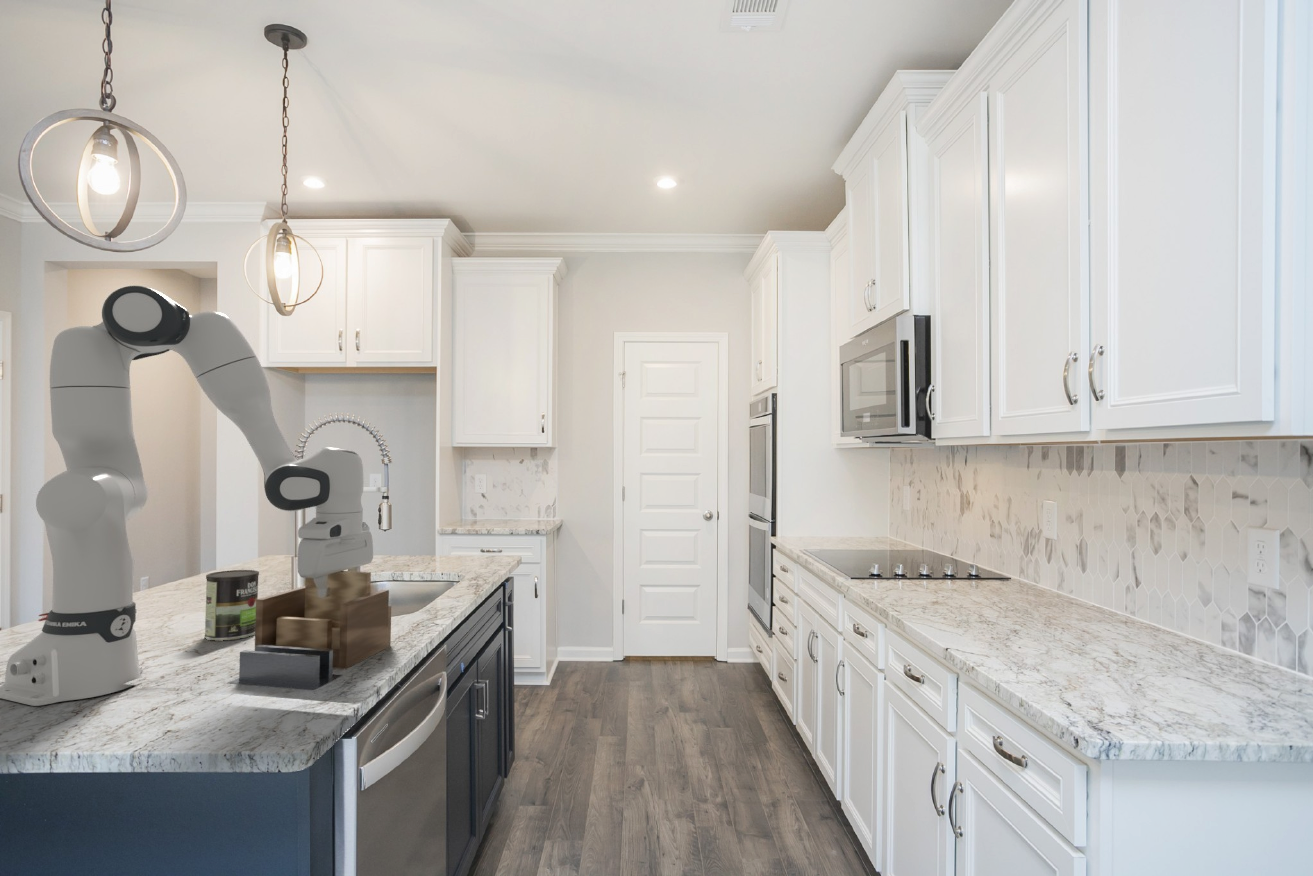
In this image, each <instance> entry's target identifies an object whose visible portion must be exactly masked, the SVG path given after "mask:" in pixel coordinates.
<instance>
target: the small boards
mask: <svg viewBox="0 0 1313 876" xmlns="http://www.w3.org/2000/svg"><path fill="white" fill-rule="evenodd" d="M276 645H282V646H296V647H311V648H326V649H339V648H340V621H334V620H332V619H316V618H299V617H279V618H277V628H276Z"/></svg>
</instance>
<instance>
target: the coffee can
mask: <svg viewBox="0 0 1313 876" xmlns="http://www.w3.org/2000/svg"><path fill="white" fill-rule="evenodd" d="M259 575H260V571H258V570H252V569H237V570H235V569H233V570H222V571H215V572H211V573H207V574H206V576H205V579H206V588H205V589H206V591H205V593H206V594H205V619H204V620H205V623H204V625H205V626H204V639H205V638H206V639H207V640H206V639H205V640H206V641H210V640H215V641H214V642H224V641H223V640H228V641H235V640H236V641H237V640H241V639H240V638H242V639H246V638H249V636H250V637H252V636H255V621H256V599H259V596H258V595H259Z"/></svg>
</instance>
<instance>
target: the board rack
mask: <svg viewBox="0 0 1313 876" xmlns="http://www.w3.org/2000/svg"><path fill="white" fill-rule="evenodd" d="M389 600H390V590H389V589H380V590H377V591H375V592H372V593H371V592H370V594H368V595H366V596H363V597H360V598H357V599H354V600H351V601H348V602H345V603H342V604H341V610H340V648H339V649H328V650H333V668H332V670H346V669H348V668H351V667H352V666H354V665H356V664H358V663H360V662H362V661H365V660H366V659H368V658H371V657H372V656H374V655H376V654H378V653H380V652H382V651H383V650H386V649H388V648H390V647H391V640H392V637H391V635H392V632H391V631H392V604H390V601H389ZM279 617H299V618H305V585H303V586H300V587H299V586H298V587H296V588H293V589H288V590H286V591H282V592H278V593H274V594H270V595H267V596H264V597H263V596H262V597H260V598H259V597H258V599H256V621H255V635H254V647H255V646H257V645H269V646H282V645H276V628H277V618H279ZM284 647H296V646H284ZM299 648H311V647H299ZM313 649H326V648H313Z"/></svg>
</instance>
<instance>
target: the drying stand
mask: <svg viewBox="0 0 1313 876" xmlns="http://www.w3.org/2000/svg"><path fill="white" fill-rule="evenodd" d="M332 668H333V650H328V649H313V648H299V647H284V646H269V645H257V646H255V645H254V650H246V649H245V650H241V651H239V671H238V675H239V676H238V678H236V679H233V680H230V681H228V682H227V684H228V685H229V684H230V685H231V684H232V685H240V686H241V685H242V686H243V685H244V686H255V687H256V686H257V687H266V688H267V687H269V688H279V689H280V688H282V689H295V690H307V691H315V690H318V689H319V688H321V687H324V686H325V685H327V684H329V683H331V682H333V681H335V680H336V679H338V678H341V677H342V676H344V674H336V673H335V674H333V669H332Z"/></svg>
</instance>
